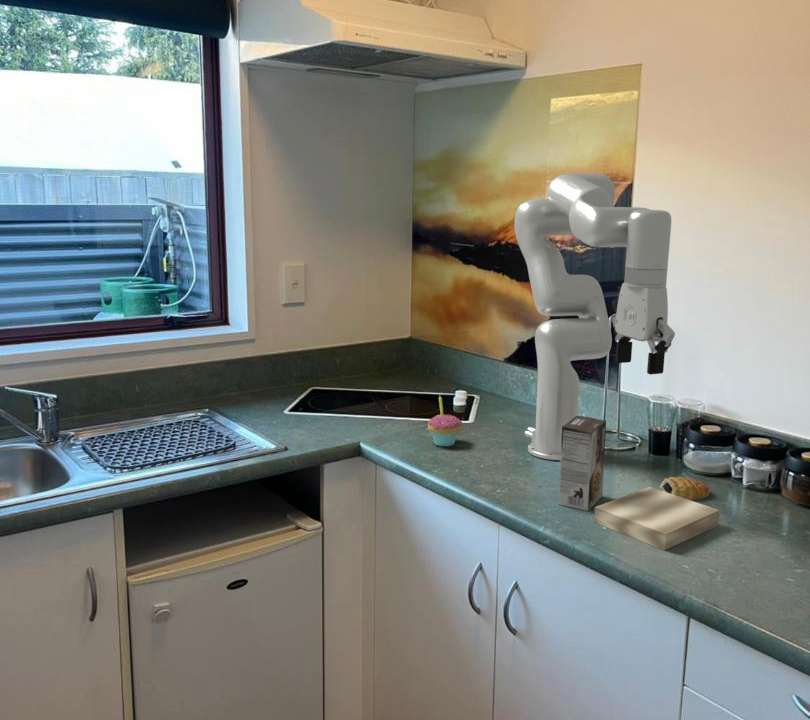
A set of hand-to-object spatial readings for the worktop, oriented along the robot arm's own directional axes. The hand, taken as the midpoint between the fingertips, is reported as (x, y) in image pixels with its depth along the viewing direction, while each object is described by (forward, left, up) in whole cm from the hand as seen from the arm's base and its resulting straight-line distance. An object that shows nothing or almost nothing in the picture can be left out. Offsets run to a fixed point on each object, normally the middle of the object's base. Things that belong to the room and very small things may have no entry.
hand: (638, 367), depth 151 cm
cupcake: (-51, -3, -28) cm, 58 cm away
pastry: (+4, +13, -28) cm, 31 cm away
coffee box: (-7, -6, -28) cm, 29 cm away
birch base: (+9, -4, -27) cm, 29 cm away
